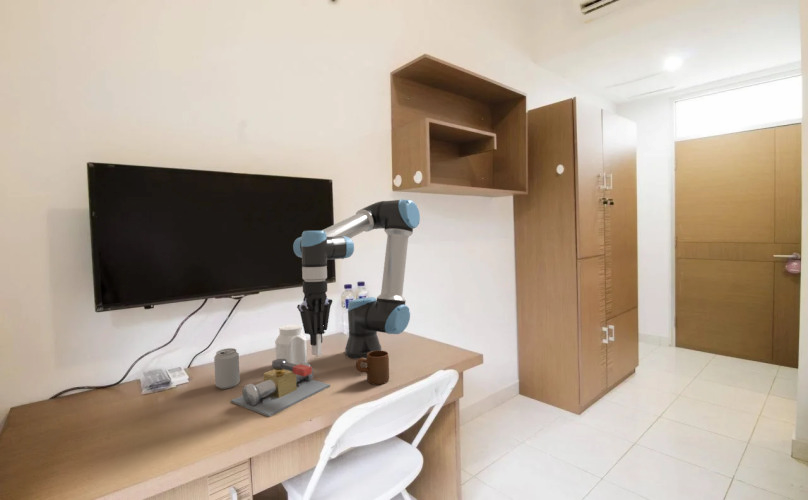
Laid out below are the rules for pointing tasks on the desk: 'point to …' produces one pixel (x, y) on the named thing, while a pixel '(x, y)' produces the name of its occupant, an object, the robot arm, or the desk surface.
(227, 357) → the can
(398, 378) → the desk surface
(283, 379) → the valve
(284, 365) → the lever
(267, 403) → the mat
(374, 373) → the mug
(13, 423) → the desk surface
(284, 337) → the jar
